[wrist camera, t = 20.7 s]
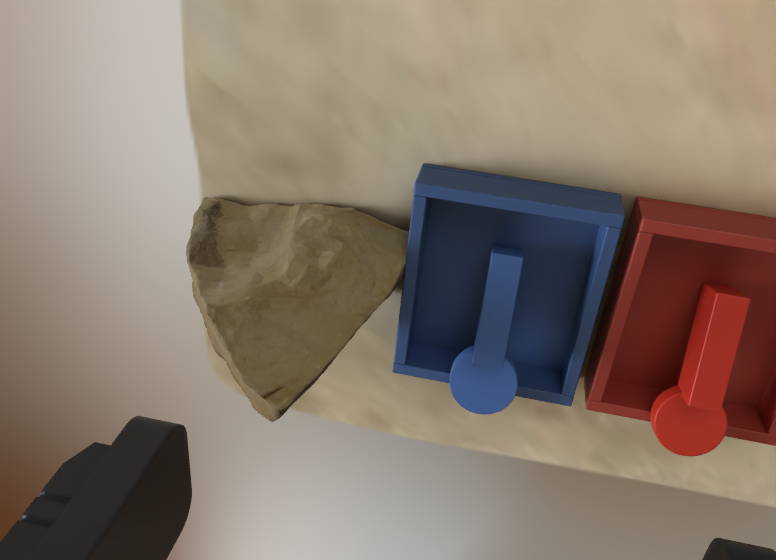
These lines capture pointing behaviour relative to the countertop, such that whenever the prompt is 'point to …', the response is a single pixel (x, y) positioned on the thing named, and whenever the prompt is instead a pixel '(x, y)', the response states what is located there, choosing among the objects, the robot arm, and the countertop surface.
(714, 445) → the red spoon
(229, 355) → the rock
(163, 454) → the robot arm
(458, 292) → the blue tray
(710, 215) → the red tray
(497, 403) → the blue spoon
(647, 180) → the countertop surface
